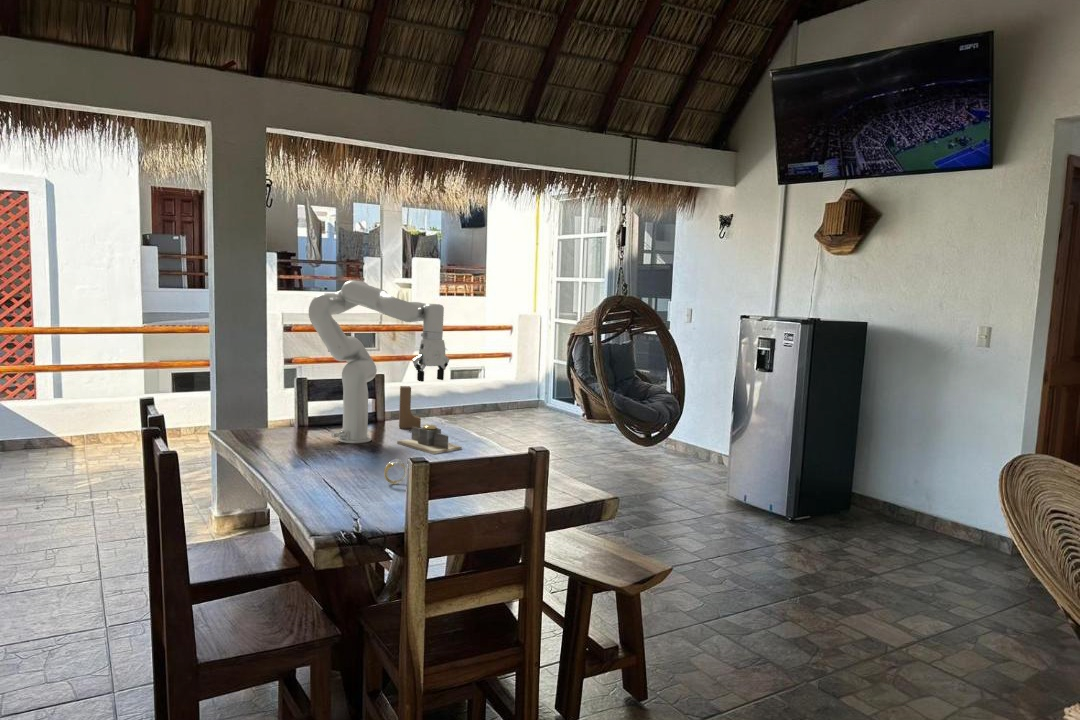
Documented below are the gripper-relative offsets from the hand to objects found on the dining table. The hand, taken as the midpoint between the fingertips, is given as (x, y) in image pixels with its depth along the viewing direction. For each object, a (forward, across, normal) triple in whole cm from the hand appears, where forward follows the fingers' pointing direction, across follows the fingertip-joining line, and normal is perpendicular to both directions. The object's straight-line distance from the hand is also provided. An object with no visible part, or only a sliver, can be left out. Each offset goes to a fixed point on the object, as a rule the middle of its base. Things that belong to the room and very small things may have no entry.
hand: (430, 380), depth 279 cm
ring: (+26, -42, -36) cm, 61 cm away
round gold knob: (+24, 0, -1) cm, 24 cm away
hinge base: (+26, 0, -1) cm, 26 cm away
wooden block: (+26, +16, +32) cm, 45 cm away
